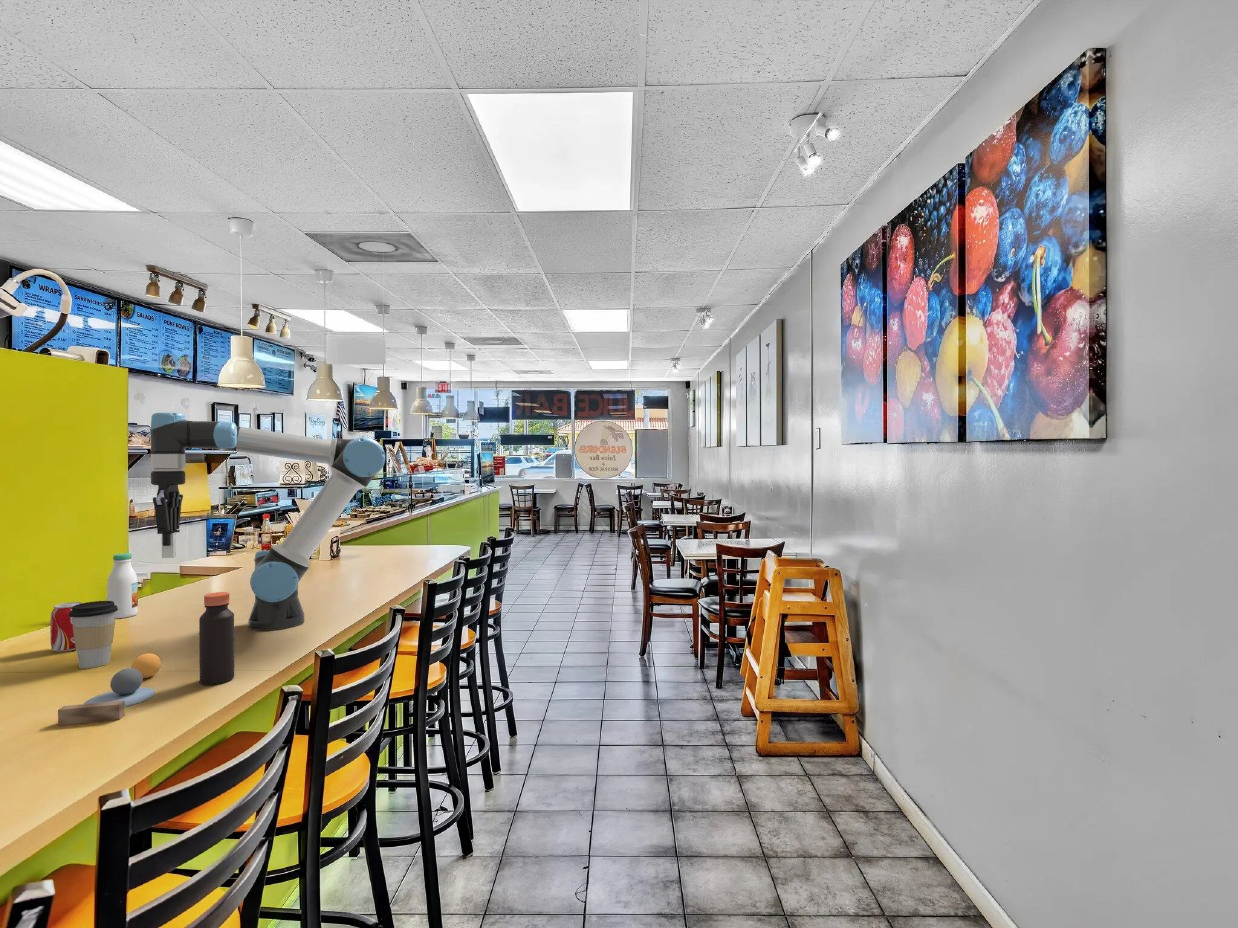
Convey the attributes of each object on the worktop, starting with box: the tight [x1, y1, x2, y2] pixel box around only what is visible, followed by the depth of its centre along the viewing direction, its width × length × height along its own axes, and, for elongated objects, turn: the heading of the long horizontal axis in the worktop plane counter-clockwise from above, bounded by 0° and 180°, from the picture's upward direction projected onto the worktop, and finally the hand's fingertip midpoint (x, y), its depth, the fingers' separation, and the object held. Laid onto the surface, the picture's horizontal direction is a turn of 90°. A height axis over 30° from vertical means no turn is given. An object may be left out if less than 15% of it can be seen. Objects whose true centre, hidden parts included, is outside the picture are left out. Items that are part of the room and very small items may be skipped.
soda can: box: [49, 601, 83, 653], centre depth 165 cm, size 7×7×12 cm
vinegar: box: [198, 591, 235, 686], centre depth 142 cm, size 7×7×20 cm
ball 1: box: [110, 667, 144, 695], centre depth 134 cm, size 6×6×6 cm
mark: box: [83, 686, 156, 708], centre depth 132 cm, size 12×12×1 cm
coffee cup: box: [68, 600, 118, 669], centre depth 153 cm, size 9×9×15 cm
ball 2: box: [130, 653, 162, 679], centre depth 144 cm, size 6×6×6 cm
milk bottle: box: [106, 552, 139, 620], centre depth 198 cm, size 8×8×20 cm
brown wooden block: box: [57, 701, 126, 726], centre depth 121 cm, size 10×2×3 cm, turn 106°
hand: (168, 557), depth 166 cm, fingers closed
